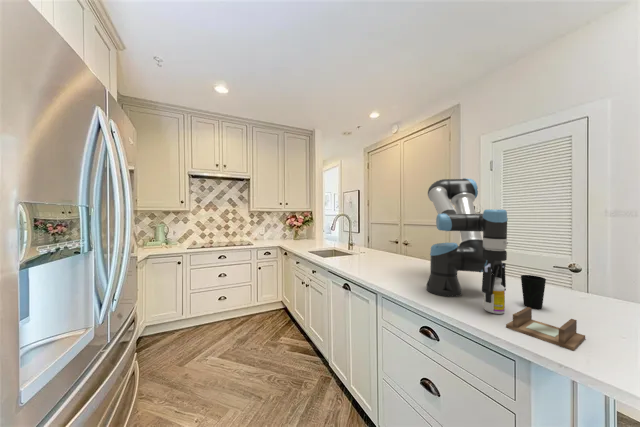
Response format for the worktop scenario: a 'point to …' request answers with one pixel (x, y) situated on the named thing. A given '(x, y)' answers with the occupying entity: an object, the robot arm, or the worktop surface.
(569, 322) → the holder
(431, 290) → the robot arm
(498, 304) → the supplement bottle
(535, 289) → the cup
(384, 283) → the worktop surface
